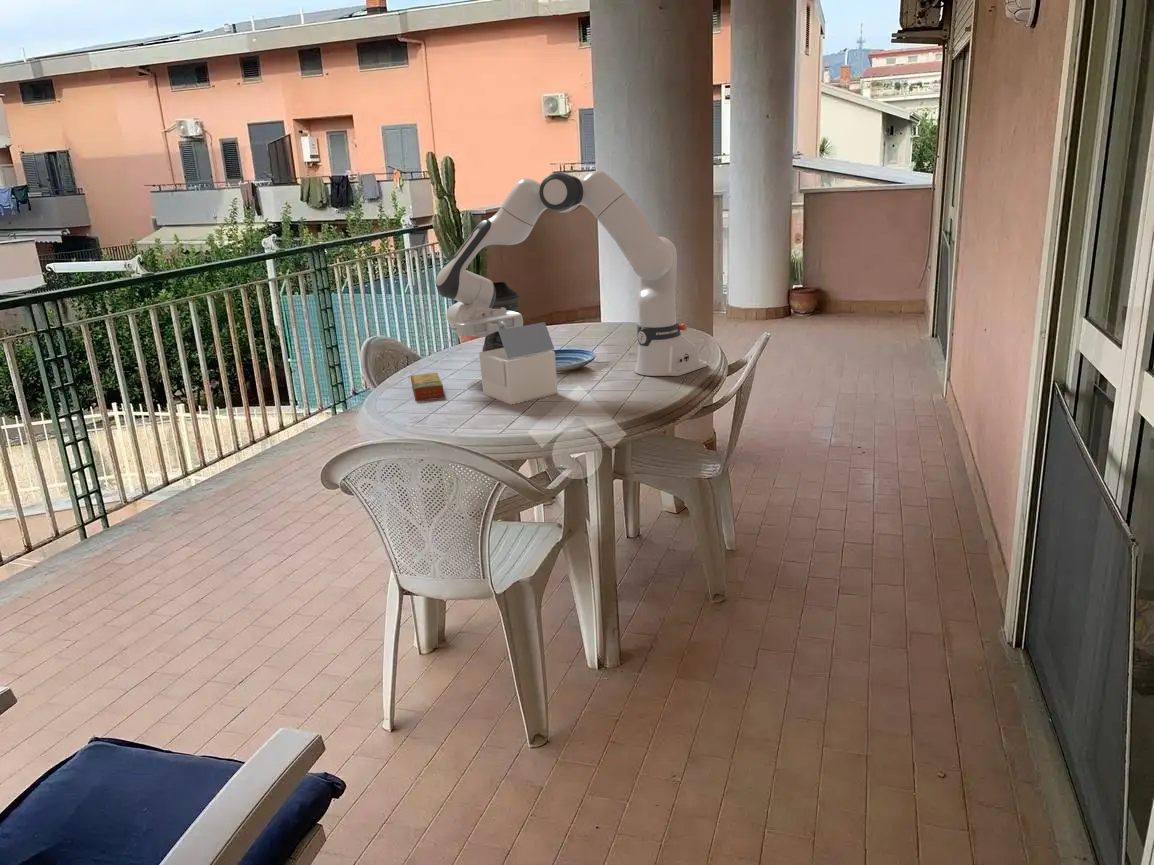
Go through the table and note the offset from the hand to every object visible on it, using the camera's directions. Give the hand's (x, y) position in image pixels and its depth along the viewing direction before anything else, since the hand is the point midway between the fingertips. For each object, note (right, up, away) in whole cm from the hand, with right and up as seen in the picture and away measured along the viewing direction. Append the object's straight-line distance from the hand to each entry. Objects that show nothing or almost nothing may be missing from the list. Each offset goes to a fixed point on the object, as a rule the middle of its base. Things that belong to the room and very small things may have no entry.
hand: (501, 327), depth 233 cm
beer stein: (-3, -5, +45) cm, 46 cm away
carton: (-22, -18, +8) cm, 30 cm away
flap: (+8, -5, -10) cm, 14 cm away
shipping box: (+5, -19, 0) cm, 20 cm away
